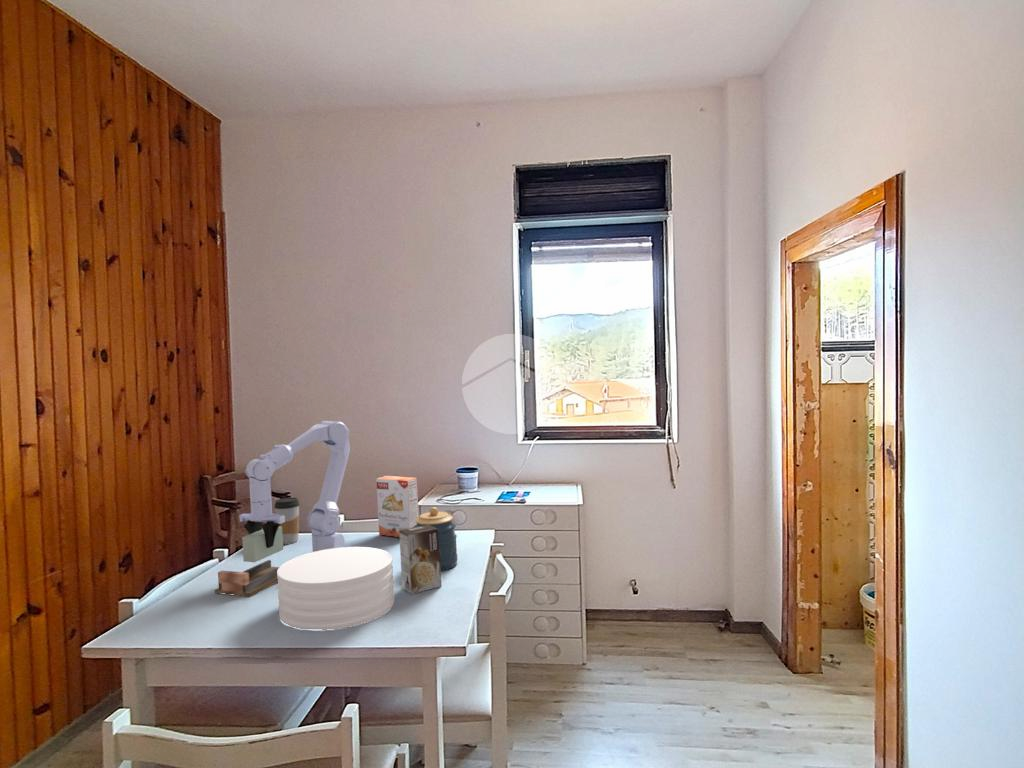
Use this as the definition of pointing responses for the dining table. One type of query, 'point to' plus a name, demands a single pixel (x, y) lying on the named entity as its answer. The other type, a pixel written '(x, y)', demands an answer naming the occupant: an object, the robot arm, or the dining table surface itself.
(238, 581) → the track
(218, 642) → the dining table surface
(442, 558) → the canister
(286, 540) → the coffee cup
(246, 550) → the pale green block
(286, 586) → the plate stack
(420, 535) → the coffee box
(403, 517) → the cracker box
